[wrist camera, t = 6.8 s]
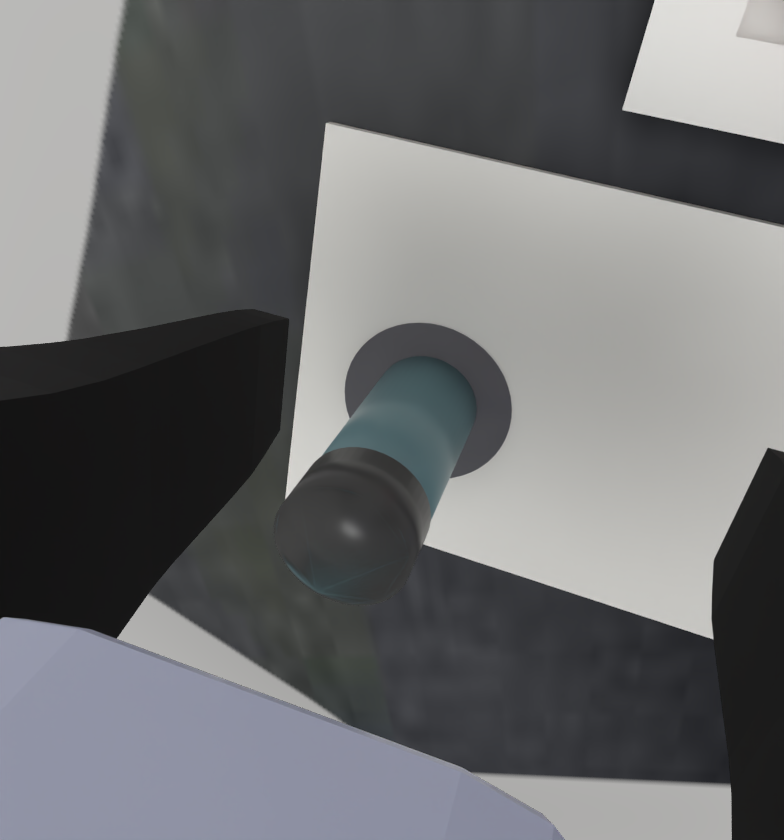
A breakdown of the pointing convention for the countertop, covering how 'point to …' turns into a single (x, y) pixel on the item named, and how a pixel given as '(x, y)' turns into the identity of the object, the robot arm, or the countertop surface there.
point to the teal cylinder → (378, 485)
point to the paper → (554, 359)
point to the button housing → (713, 66)
